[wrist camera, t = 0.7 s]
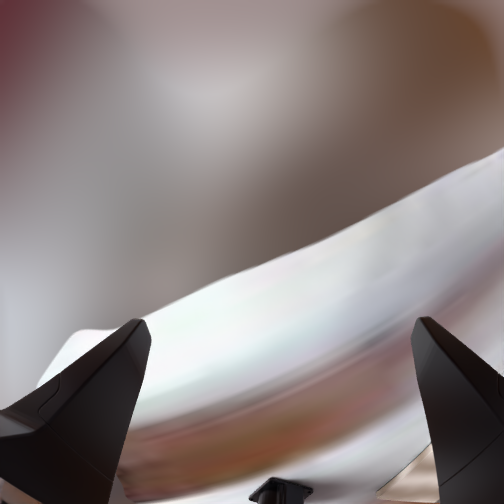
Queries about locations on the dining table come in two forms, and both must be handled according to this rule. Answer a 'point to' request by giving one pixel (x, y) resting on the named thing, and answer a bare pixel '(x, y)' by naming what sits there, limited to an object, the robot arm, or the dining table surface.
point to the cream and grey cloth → (414, 481)
